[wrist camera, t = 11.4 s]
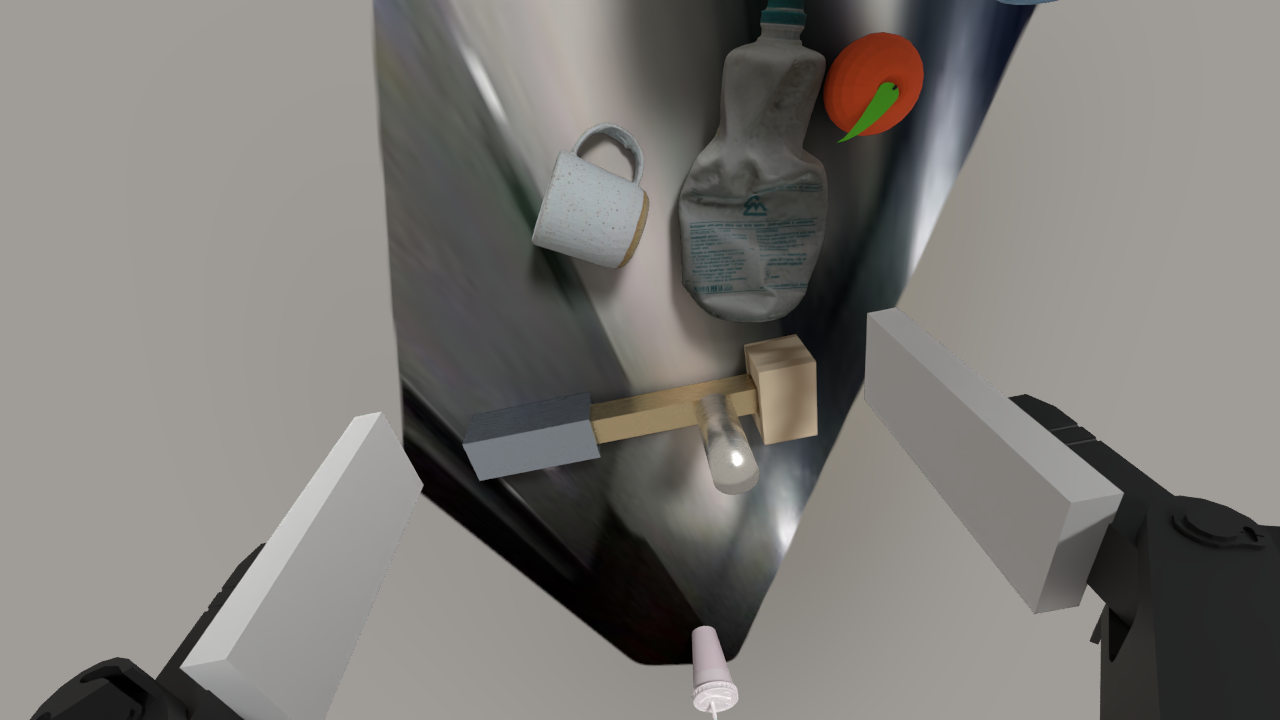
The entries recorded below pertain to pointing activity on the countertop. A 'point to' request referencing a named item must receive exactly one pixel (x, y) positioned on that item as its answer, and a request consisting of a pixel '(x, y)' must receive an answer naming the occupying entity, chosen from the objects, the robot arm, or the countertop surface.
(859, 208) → the countertop surface
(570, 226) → the ceramic mug
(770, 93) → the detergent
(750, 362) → the socket block
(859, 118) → the clementine
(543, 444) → the sleeve
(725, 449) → the bar with upright post
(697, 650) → the smoothie
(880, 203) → the countertop surface
